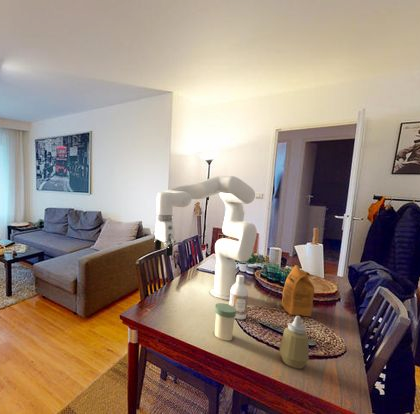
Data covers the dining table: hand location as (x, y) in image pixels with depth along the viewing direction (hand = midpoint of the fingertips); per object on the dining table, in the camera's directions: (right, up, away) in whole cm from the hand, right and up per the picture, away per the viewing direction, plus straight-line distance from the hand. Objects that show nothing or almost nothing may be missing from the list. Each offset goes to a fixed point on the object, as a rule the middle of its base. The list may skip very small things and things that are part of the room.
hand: (163, 252), depth 132 cm
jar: (+19, -32, -18) cm, 41 cm away
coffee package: (+65, -29, +1) cm, 71 cm away
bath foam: (+34, -30, -3) cm, 45 cm away
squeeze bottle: (+34, -34, -34) cm, 59 cm away
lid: (+18, -20, -20) cm, 34 cm away
